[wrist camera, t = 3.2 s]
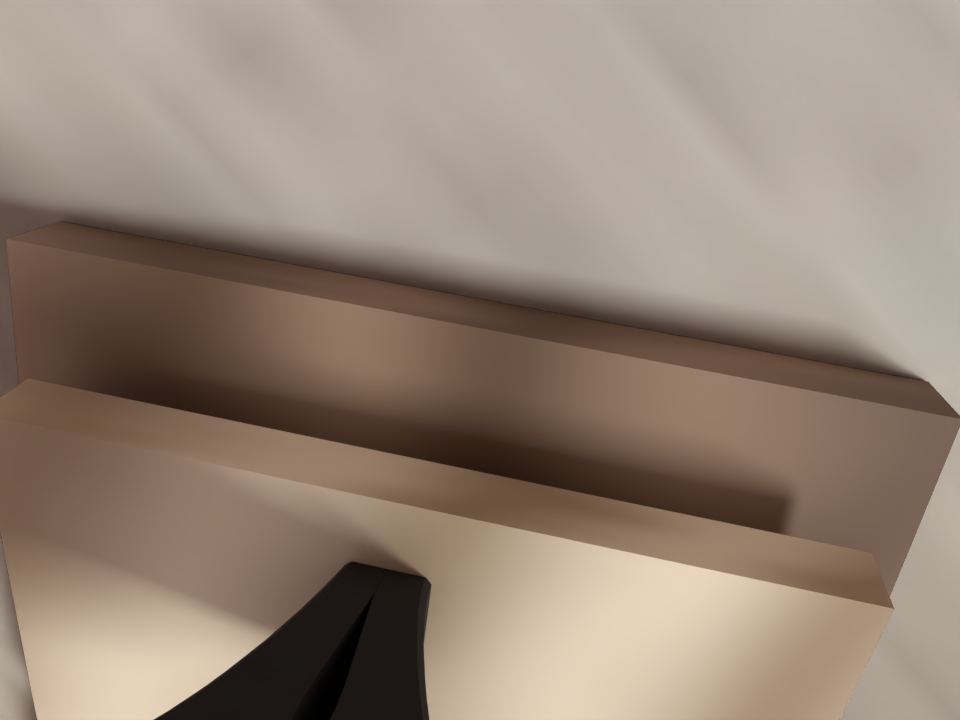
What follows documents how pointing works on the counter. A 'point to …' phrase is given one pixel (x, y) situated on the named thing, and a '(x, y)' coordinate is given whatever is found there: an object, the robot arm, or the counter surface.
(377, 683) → the robot arm
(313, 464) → the oak plank
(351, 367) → the board
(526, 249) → the counter surface
